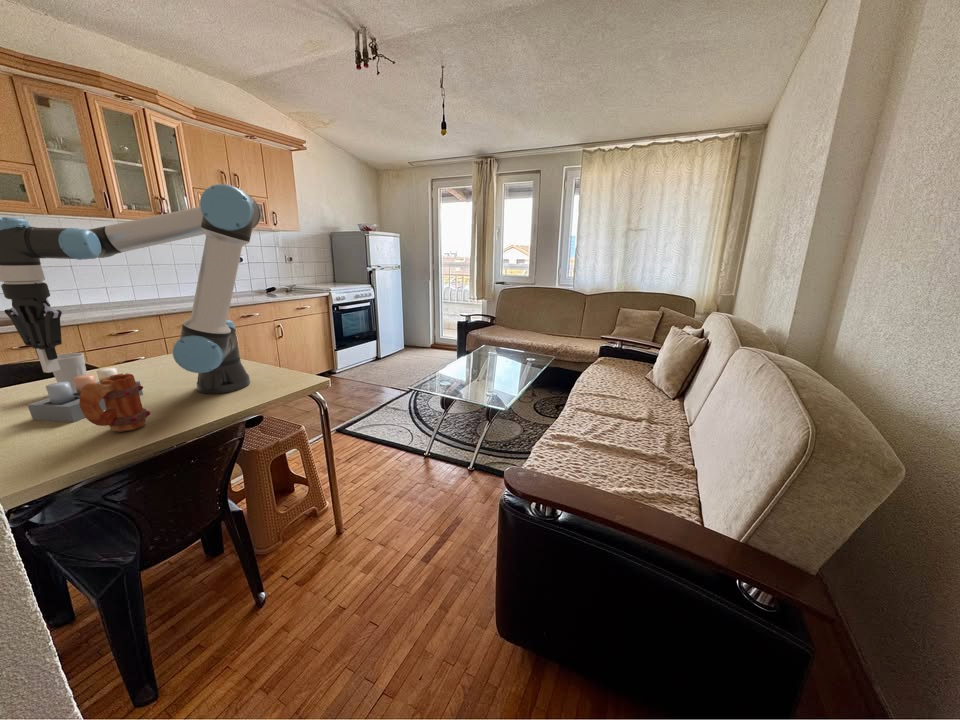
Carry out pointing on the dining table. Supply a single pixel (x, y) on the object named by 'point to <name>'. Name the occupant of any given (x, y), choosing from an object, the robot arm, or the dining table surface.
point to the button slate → (60, 393)
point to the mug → (114, 403)
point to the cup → (70, 367)
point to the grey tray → (61, 409)
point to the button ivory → (106, 372)
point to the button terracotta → (83, 381)
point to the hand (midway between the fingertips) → (52, 370)
